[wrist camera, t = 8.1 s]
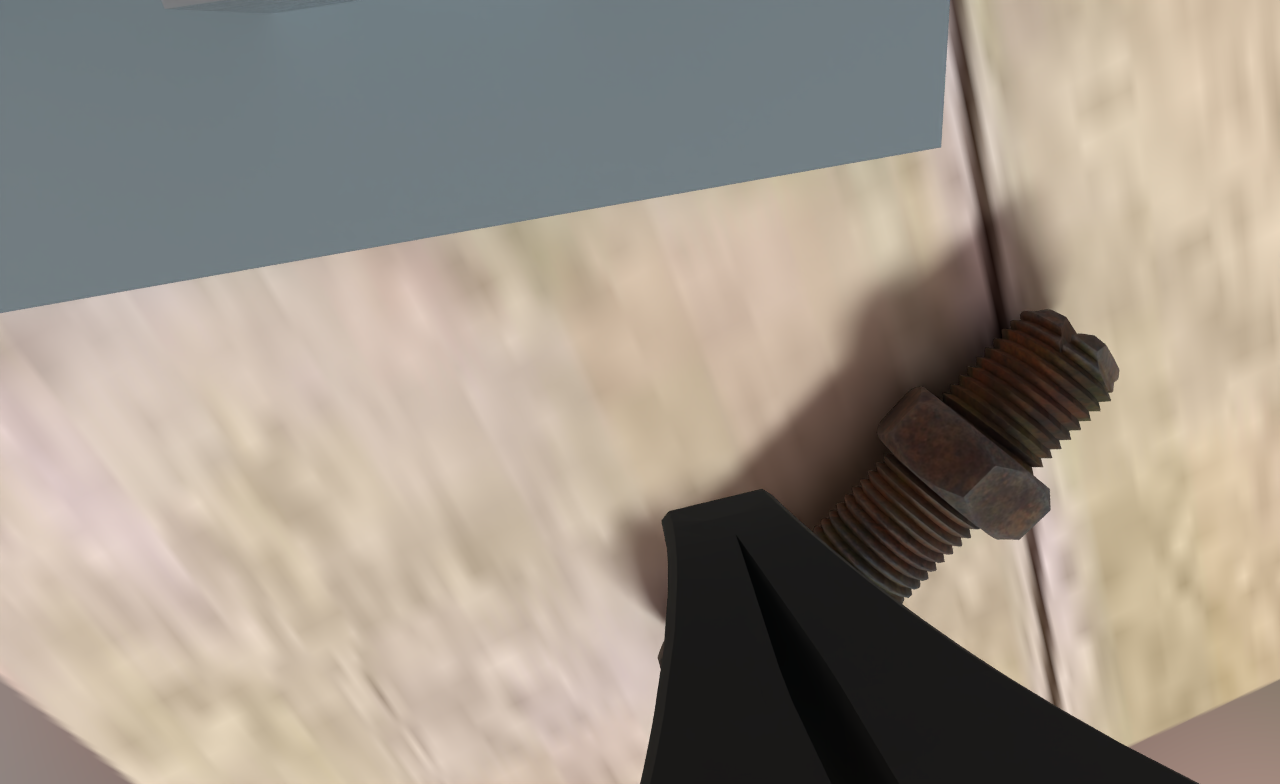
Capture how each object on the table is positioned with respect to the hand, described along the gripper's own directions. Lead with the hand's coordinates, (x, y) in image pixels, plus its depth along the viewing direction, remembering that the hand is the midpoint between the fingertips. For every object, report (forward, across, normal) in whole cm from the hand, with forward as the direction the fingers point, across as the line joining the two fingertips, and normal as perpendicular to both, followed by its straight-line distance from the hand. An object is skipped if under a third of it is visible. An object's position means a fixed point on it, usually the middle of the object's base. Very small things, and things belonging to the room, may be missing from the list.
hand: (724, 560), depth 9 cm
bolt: (+11, -6, +8) cm, 15 cm away
